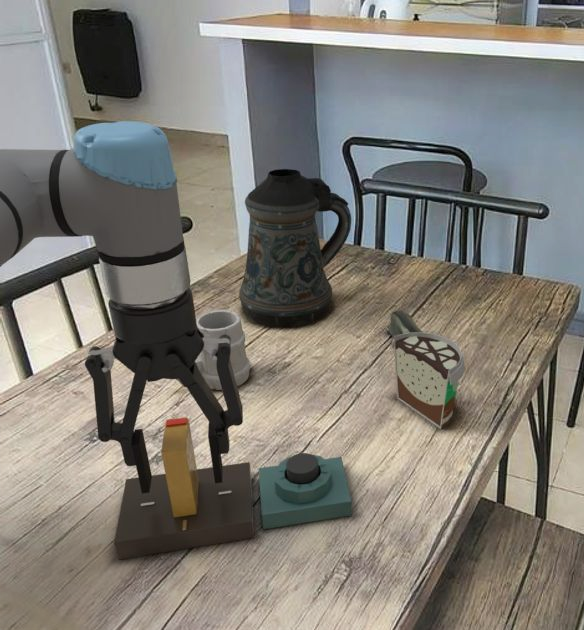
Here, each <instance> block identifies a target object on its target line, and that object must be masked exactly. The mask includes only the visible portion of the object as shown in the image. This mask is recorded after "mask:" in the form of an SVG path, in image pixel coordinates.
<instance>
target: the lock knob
mask: <svg viewBox="0 0 584 630" xmlns="http://www.w3.org/2000/svg"><path fill="white" fill-rule="evenodd" d="M160 453H161V459H162V463H163V469H164V474H166V480H167V485H168V490H169V495H170V500H171V505H172V511H173V516H174V517H181V516H188V515H195V514H197V502H198V487H199V479H198V473H197V469H198V468H197V467H198V466H197V460H196V455H195V450H194V443H193V437H192V431H191V424H190V419H189V418H188V417H179V418H171V419H166V420H165V423H164V431H163V437H162V445H161V451H160Z"/></svg>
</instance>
